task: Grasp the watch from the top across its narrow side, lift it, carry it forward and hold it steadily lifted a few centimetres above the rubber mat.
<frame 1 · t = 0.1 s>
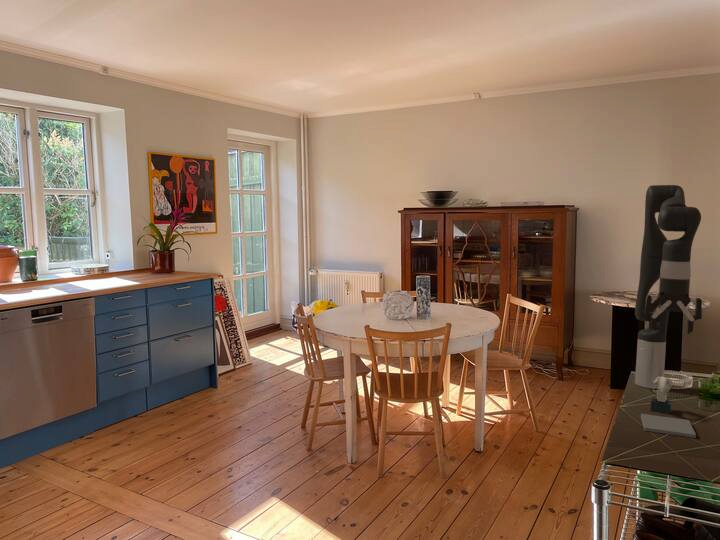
hand: (671, 332, 157), 29 cm above the table, tool pointing down, fingers open, 8 cm apart
mat: (666, 426, 162), on the table
watch: (660, 411, 175), on the table
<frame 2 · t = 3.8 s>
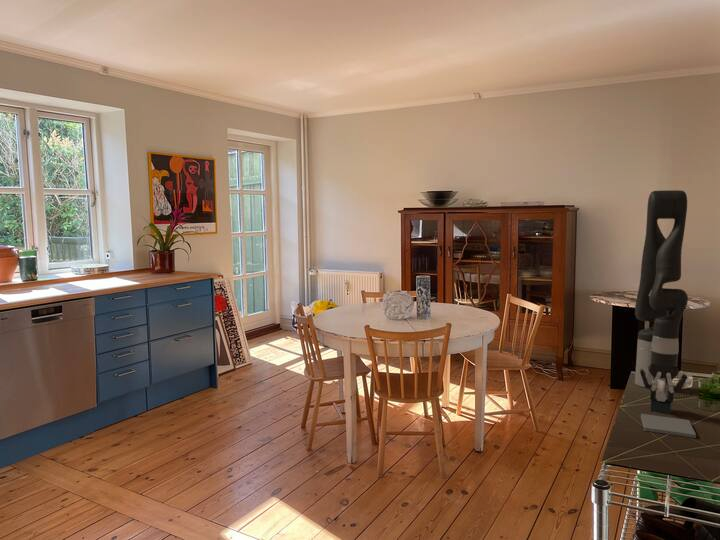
hand: (661, 402, 175), 3 cm above the table, tool pointing down, fingers closed on watch, 3 cm apart
watch: (660, 410, 175), on the table, touching gripper
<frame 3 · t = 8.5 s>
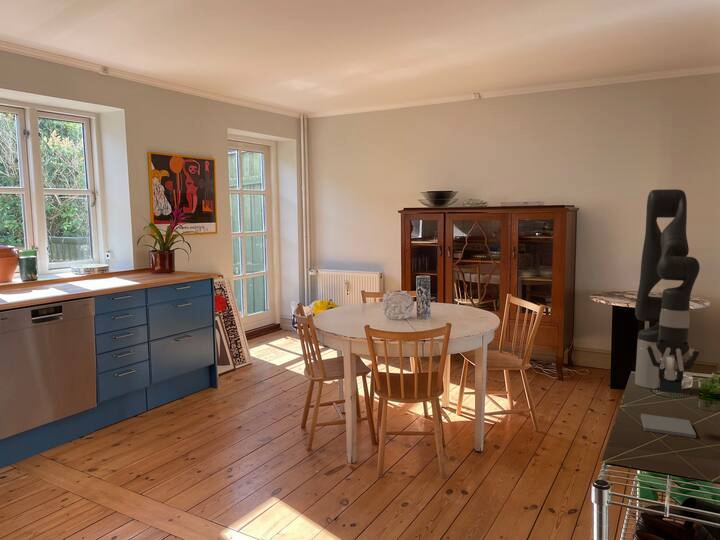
hand: (670, 381, 160), 14 cm above the table, tool pointing down, fingers closed on watch, 3 cm apart
watch: (670, 391, 160), point 11 cm above the table, touching gripper
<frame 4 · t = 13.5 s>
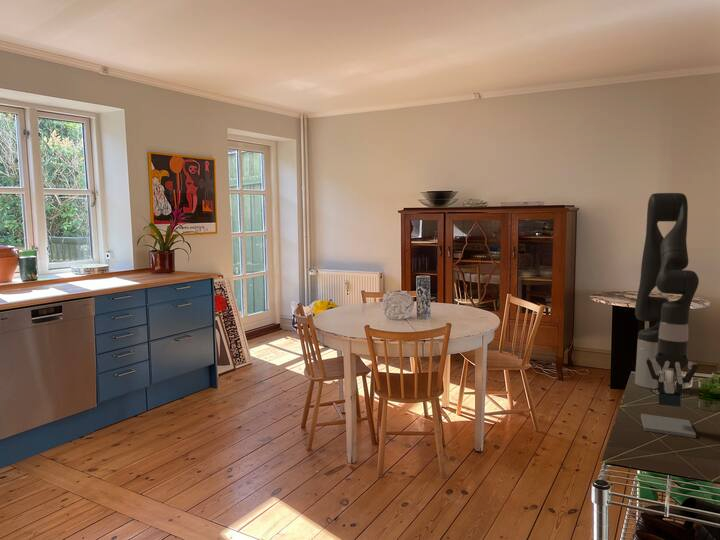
hand: (669, 394, 161), 10 cm above the table, tool pointing down, fingers closed on watch, 3 cm apart
watch: (669, 404, 161), point 7 cm above the table, touching gripper
at the end: the gripper is holding watch; watch inside the target area on the mat (0.3 cm from its centre), point 7.1 cm above the mat's base; watch touching gripper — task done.
